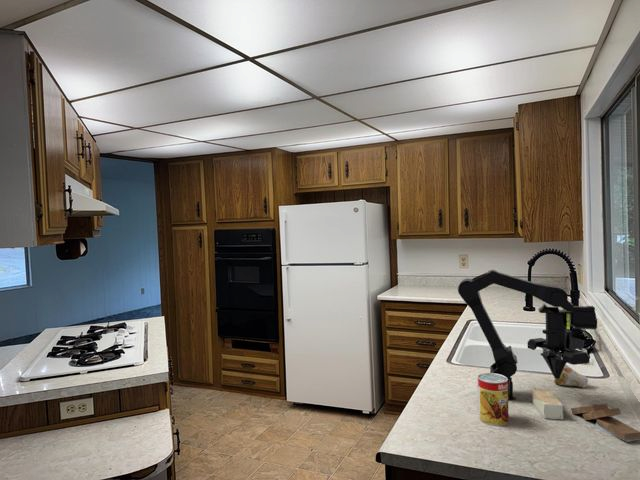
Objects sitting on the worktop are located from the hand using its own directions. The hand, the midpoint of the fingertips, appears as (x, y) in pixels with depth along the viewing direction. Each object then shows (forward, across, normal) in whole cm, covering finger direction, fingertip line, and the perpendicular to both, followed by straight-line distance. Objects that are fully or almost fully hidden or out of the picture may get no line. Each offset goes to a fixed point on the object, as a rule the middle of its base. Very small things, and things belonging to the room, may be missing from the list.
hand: (557, 378), depth 132 cm
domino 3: (+6, -16, 0) cm, 17 cm away
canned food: (+8, -4, +25) cm, 26 cm away
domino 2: (+7, -12, 0) cm, 14 cm away
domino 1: (+7, -8, 0) cm, 10 cm away
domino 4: (+8, -16, 0) cm, 17 cm away
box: (+5, +1, +5) cm, 7 cm away
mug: (+8, +10, -15) cm, 20 cm away
